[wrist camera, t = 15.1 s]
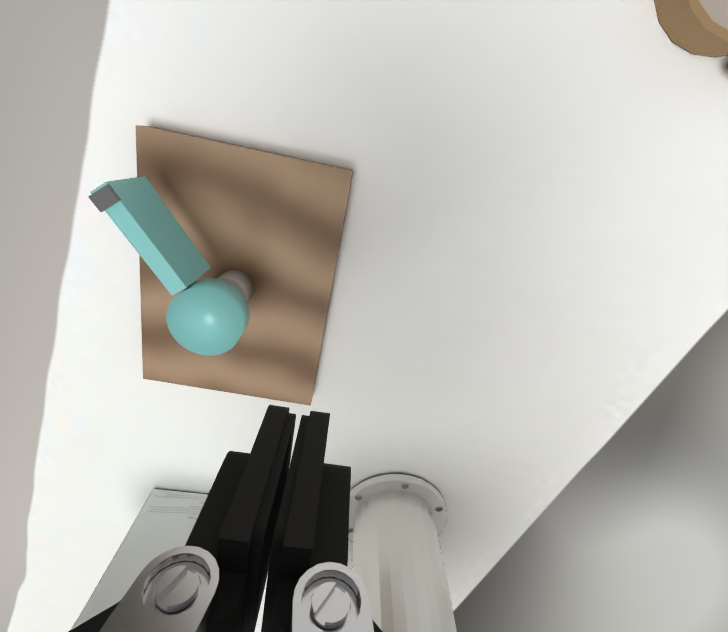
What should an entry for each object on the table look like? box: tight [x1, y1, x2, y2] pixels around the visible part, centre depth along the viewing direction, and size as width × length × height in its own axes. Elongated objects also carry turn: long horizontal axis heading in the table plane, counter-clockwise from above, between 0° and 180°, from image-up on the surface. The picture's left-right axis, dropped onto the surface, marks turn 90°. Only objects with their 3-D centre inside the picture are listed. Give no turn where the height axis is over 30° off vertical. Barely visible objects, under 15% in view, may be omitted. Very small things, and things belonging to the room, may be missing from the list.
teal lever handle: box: [89, 176, 250, 356], centre depth 27 cm, size 12×5×5 cm, turn 28°
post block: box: [136, 125, 353, 405], centre depth 32 cm, size 22×16×7 cm
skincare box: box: [71, 489, 208, 630], centre depth 40 cm, size 8×6×15 cm
